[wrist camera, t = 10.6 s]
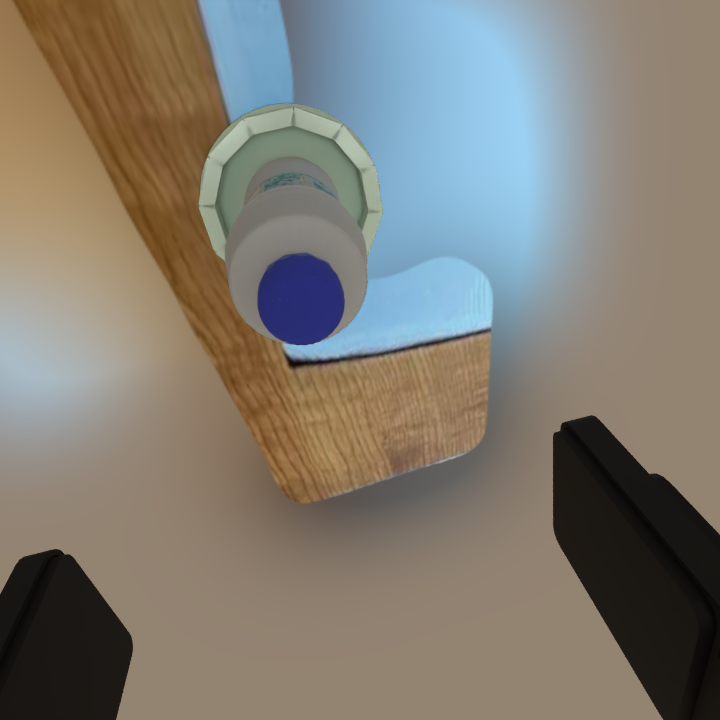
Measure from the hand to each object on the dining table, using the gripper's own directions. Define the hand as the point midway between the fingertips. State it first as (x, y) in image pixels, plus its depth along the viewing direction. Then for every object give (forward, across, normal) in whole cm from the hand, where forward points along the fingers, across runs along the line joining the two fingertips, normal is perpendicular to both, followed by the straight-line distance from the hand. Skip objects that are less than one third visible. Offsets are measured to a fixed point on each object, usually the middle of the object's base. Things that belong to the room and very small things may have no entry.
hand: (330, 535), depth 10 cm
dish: (+31, 0, 0) cm, 31 cm away
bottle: (+31, 0, 0) cm, 31 cm away
